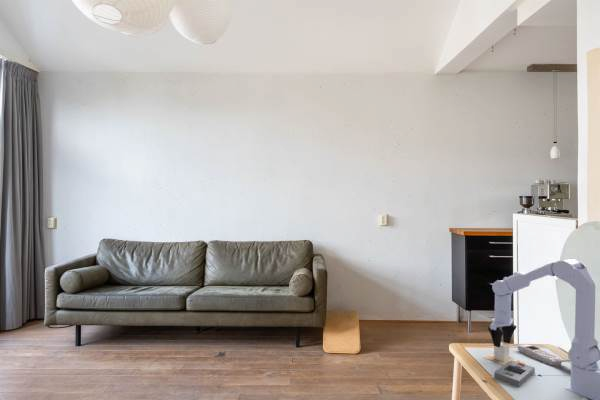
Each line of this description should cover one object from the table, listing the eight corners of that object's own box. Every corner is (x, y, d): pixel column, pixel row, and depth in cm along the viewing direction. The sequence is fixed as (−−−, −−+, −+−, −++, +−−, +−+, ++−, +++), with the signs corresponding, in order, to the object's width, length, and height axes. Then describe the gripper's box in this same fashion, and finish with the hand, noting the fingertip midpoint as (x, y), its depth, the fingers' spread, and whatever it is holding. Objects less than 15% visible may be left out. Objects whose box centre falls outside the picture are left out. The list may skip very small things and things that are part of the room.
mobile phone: (572, 360, 140) (512, 335, 163) (572, 376, 140) (512, 349, 163) (583, 358, 142) (522, 334, 165) (582, 373, 142) (522, 347, 165)
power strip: (510, 367, 145) (511, 358, 145) (534, 375, 140) (534, 365, 139) (494, 380, 135) (494, 370, 135) (518, 389, 129) (519, 379, 129)
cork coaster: (519, 362, 150) (519, 360, 150) (507, 367, 144) (507, 366, 144) (495, 353, 158) (495, 352, 158) (483, 358, 152) (483, 357, 152)
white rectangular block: (509, 359, 151) (509, 344, 151) (504, 361, 148) (504, 346, 148) (498, 356, 154) (499, 341, 154) (493, 358, 151) (494, 343, 151)
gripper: (502, 305, 158) (501, 337, 158) (482, 310, 150) (482, 344, 150) (519, 309, 152) (518, 343, 153) (500, 315, 144) (500, 350, 144)
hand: (501, 344), depth 151 cm, fingers open, 7 cm apart
